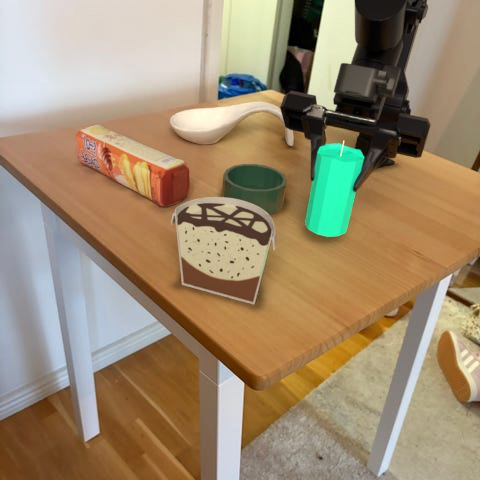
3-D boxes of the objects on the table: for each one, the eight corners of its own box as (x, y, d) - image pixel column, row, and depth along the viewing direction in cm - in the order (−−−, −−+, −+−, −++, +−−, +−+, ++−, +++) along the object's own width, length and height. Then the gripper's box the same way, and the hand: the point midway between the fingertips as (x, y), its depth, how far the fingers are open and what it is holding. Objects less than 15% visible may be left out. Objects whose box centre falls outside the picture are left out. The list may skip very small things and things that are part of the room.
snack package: (74, 165, 88) (69, 124, 83) (106, 156, 92) (103, 116, 88) (160, 213, 78) (160, 169, 73) (192, 200, 82) (194, 158, 77)
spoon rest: (169, 149, 96) (169, 109, 92) (169, 126, 105) (169, 88, 101) (296, 155, 99) (302, 116, 95) (286, 132, 108) (291, 95, 104)
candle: (337, 241, 70) (357, 154, 62) (297, 226, 72) (311, 140, 64) (354, 224, 74) (375, 140, 66) (316, 210, 76) (331, 127, 69)
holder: (261, 183, 88) (263, 160, 86) (295, 208, 82) (299, 184, 80) (211, 193, 84) (212, 169, 82) (243, 220, 78) (245, 195, 76)
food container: (280, 280, 67) (291, 209, 61) (266, 308, 62) (277, 233, 56) (190, 257, 69) (192, 186, 63) (170, 281, 65) (170, 207, 58)
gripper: (295, 20, 63) (253, 140, 62) (454, 46, 59) (411, 177, 58) (304, 74, 74) (268, 177, 73) (439, 100, 69) (403, 211, 69)
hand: (332, 185), depth 68 cm, fingers closed on candle, 5 cm apart
